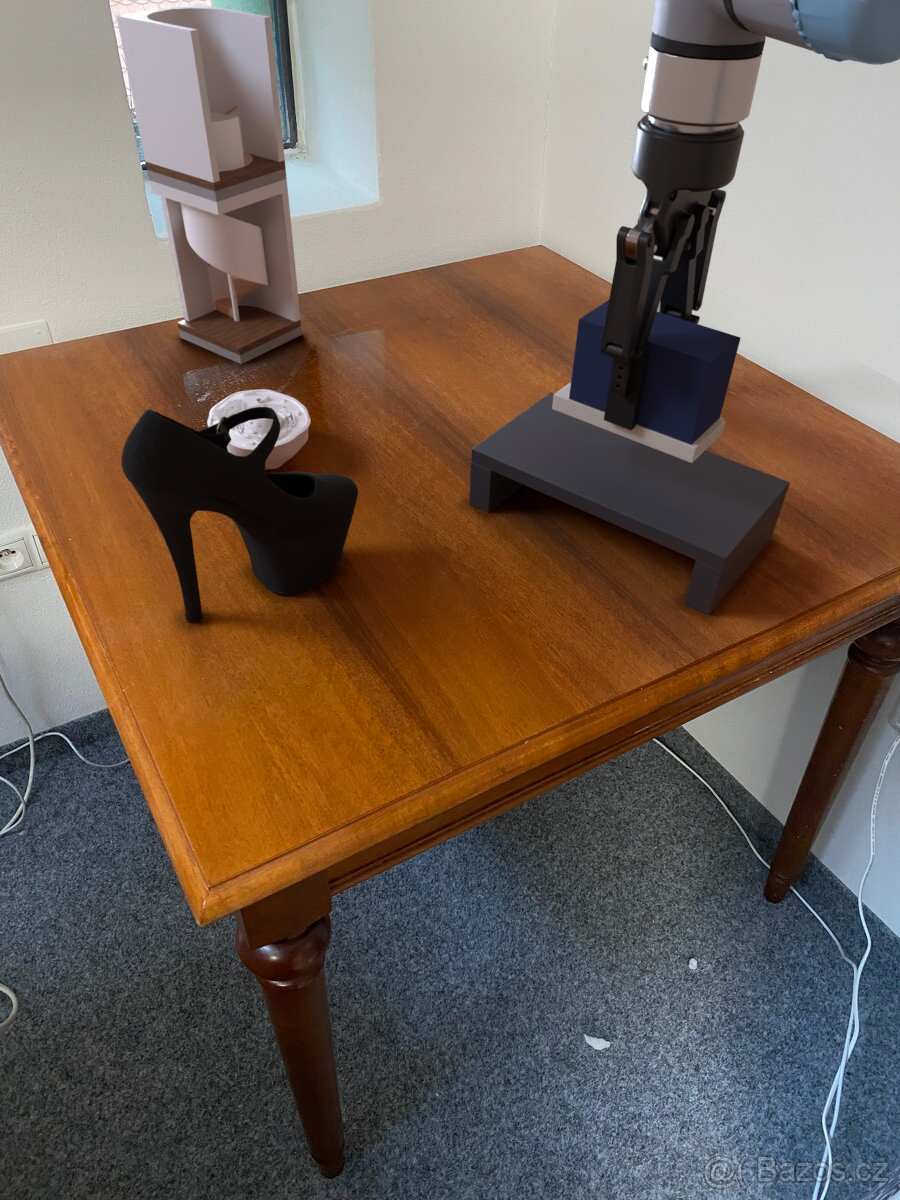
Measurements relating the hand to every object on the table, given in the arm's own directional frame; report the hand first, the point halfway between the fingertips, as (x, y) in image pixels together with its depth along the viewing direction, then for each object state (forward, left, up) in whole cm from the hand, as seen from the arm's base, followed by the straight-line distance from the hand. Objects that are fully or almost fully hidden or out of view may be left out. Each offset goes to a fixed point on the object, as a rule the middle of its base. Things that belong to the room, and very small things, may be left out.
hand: (638, 407), depth 78 cm
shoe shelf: (0, 0, -12) cm, 12 cm away
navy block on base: (0, 0, -1) cm, 1 cm away
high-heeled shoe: (+20, +28, -13) cm, 37 cm away
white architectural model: (+58, -4, -13) cm, 60 cm away
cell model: (+35, +14, -13) cm, 40 cm away
